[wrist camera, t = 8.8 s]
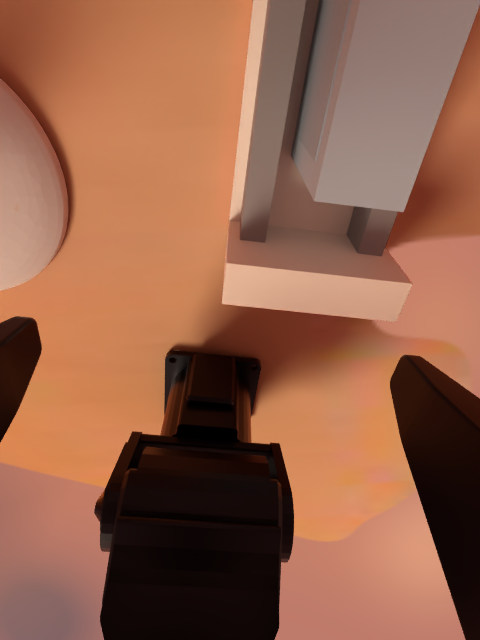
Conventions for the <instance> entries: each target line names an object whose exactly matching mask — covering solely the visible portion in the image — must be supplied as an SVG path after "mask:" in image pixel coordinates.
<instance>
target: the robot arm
mask: <svg viewBox="0 0 480 640" xmlns="http://www.w3.org/2000/svg"><path fill="white" fill-rule="evenodd" d="M41 350H42V346H41V340H40V336H39V331H38V327H37V323H36V321H35V319H33V318H29V317H20V316H16V317H13V318H10V319H8V320H6V321H4V322H2V323H0V442H1V440H2V439H3V437H4V435H5V433H6V431H7V429H8V428H9V426H10V424H11V422H12V420H13V418H14V417H15V415H16V413H17V411H18V409H19V407H20V404H21V402H22V400H23V397H24V395H25V392H26V390H27V387H28V385H29V382H30V380H31V377H32V375H33V372H34V370H35V367H36V365H37V362H38V360H39V357H40V355H41ZM172 357H173V358H175V359H171V358H172ZM252 365H256V366H255V367H252ZM260 370H261V363H260V361H259V360H258V359H254V358H243V357H233V356H222V355H212V354H201V353H191V352H180V351H170V352H168V353H167V355H166V359H165V410H164V421H163V426H162V430H161V435H150V434H142V432H134V431H133V432H132V434H131V436H130V438H129V441H128V442H126V443H125V445H124V447H123V450H122V452H121V454H120V456H119V459H118V461H117V463H116V466H115V468H114V470H113V472H112V475H111V477H110V479H109V481H108V484H107V486H106V488H105V490H104V492H103V493H102V495H101V496H100V498H99V499H98V500H97V502H96V506H95V512H94V513H95V515H96V517H97V518H98V520H99V521H100V531H101V533H100V546H101V550H102V551H104V552H110V555H109V562H108V567H107V574H106V581H105V587H104V594H103V600H102V610H101V615H100V622H101V627H102V632H103V636H104V640H274V639H275V637H276V634H277V632H278V629H279V596H280V574H281V562H288V560H289V558H290V555H291V550H292V544H293V534H294V509H293V498H292V492H291V487H290V483H289V479H288V475H287V472H286V468H285V464H284V460H283V456H282V452H281V448H280V444H279V443H270V444H260V443H251V414H252V410H253V405H254V400H255V395H256V390H257V385H258V380H259V375H260ZM390 389H391V394H392V399H393V404H394V409H395V414H396V419H397V423H398V428H399V433H400V437H401V441H402V445H403V448H404V451H405V454H406V457H407V461H408V464H409V467H410V470H411V473H412V476H413V479H414V482H415V485H416V488H417V491H418V494H419V497H420V501H421V504H422V506H423V510H424V513H425V516H426V519H427V522H428V525H429V528H430V531H431V534H432V537H433V540H434V543H435V546H436V550H437V553H438V556H439V559H440V562H441V565H442V568H443V571H444V574H445V577H446V580H447V583H448V587H449V590H450V592H451V596H452V599H453V602H454V605H455V608H456V611H457V614H458V617H459V620H460V623H461V627H462V630H463V633H464V636H465V639H466V640H480V399H479V398H478V397H476V396H475V395H474V394H473V393H471V392H470V391H468V390H467V389H465V388H464V387H463V386H461V385H460V384H458V383H457V382H456V381H454V380H453V379H451V378H450V377H449V376H447V375H446V374H444V373H443V372H442V371H440V370H439V369H437V368H436V367H435V366H433V365H432V364H430V363H429V362H428V361H426V360H425V359H423V358H422V357H420V356H414V355H403V356H402V357H401V358H400V360H399V362H398V364H397V366H396V369H395V371H394V373H393V375H392V377H391V381H390Z"/></svg>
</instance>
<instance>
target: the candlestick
mask: <svg viewBox="0 0 480 640" xmlns="http://www.w3.org/2000/svg"><path fill="white" fill-rule="evenodd" d="M68 211H69V210H68V194H67V188H66V183H65V179H64V175H63V172H62V168H61V166H60V163H59V160H58V158H57V155H56V153H55V151H54V149H53V147H52V145H51V142H50V141H49V139H48V137H47V135H46V134H45V132H44V130H43V128H42V127H41V125H40V124H39V122H38V121H37V119H36V118H35V116H34V115H33V114H32V112H31V111H30V110H29V108H28V107H27V106H26V105H25V104H24V102H23V101H22V100H21V99H20V98H19V97H18V95H17V94H16V93H15V92H14V91H13V90H12V89H11V88H10V87H9V86H8V85H7V84H6V83H5V82H4V81H3V80H2V79H1V78H0V291H1V290H5V289H9V288H13V287H16V286H18V285H20V284H23V283H25V282H27V281H29V280H30V279H32V278H33V277H35V276H36V275H38V274H39V273H40V272H41V271H42V270H43V269H44V268H45V267H46V266H47V265H48V264H49V263H50V262H51V261H52V259H53V258H54V257H55V255H56V254H57V252H58V250H59V249H60V247H61V244H62V242H63V239H64V237H65V233H66V229H67V223H68Z"/></svg>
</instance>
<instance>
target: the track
mask: <svg viewBox="0 0 480 640" xmlns="http://www.w3.org/2000/svg"><path fill="white" fill-rule="evenodd" d="M318 4H319V0H253V6H252V15H251V24H250V34H249V43H248V52H247V61H246V70H245V79H244V88H243V98H242V107H241V116H240V125H239V134H238V143H237V152H236V162H235V171H234V180H233V189H232V198H231V207H230V216H229V226H228V235H227V244H226V255H225V268H224V281H223V294H222V304H227V305H237V306H246V307H256V308H265V309H275V310H285V311H294V312H304V313H313V314H323V315H333V316H342V317H352V318H361V319H371V320H381V321H391V322H397V320H398V317H399V315H400V313H401V310H402V308H403V306H404V303H405V301H406V299H407V296H408V294H409V292H410V289H411V287H412V285H413V283H412V282H411V281H410V280H409V278H408V277H407V276H406V274H405V273H404V272H403V270H402V269H401V268H400V266H399V265H398V264H397V262H396V261H395V260H394V258H393V257H392V256H391V255H390V253H389V252H388V251H387V249H386V248H385V246H386V244H387V241H388V238H389V235H390V233H391V230H392V227H393V224H394V221H395V219H396V216H397V213H398V211H390V210H381V209H373V208H365V207H357V206H349V205H341V204H333V203H325V202H317V201H314V200H313V198H312V196H311V194H310V192H309V190H308V188H307V186H306V185H305V183H304V181H303V179H302V177H301V175H300V173H299V171H298V169H297V167H296V165H295V163H294V161H293V159H292V157H291V151H292V146H293V140H294V135H295V129H296V124H297V118H298V113H299V107H300V102H301V96H302V91H303V86H304V80H305V75H306V69H307V64H308V58H309V53H310V47H311V42H312V37H313V31H314V26H315V20H316V15H317V9H318Z"/></svg>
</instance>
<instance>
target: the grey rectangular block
mask: <svg viewBox="0 0 480 640" xmlns="http://www.w3.org/2000/svg"><path fill="white" fill-rule="evenodd" d="M479 6H480V0H319V4H318V9H317V15H316V20H315V26H314V31H313V37H312V42H311V47H310V53H309V58H308V64H307V69H306V75H305V80H304V86H303V91H302V96H301V102H300V107H299V113H298V118H297V124H296V129H295V135H294V140H293V146H292V151H291V157H292V159H293V161H294V163H295V165H296V167H297V169H298V171H299V173H300V175H301V177H302V179H303V181H304V183H305V185H306V186H307V188H308V190H309V192H310V194H311V196H312V198H313V200H314V201H317V202H325V203H333V204H341V205H349V206H357V207H365V208H373V209H381V210H390V211H398V212H404V210H405V207H406V204H407V202H408V199H409V196H410V193H411V191H412V188H413V185H414V183H415V180H416V177H417V174H418V172H419V169H420V166H421V164H422V161H423V158H424V155H425V153H426V150H427V147H428V145H429V142H430V139H431V136H432V134H433V131H434V128H435V126H436V123H437V120H438V117H439V115H440V112H441V109H442V107H443V104H444V101H445V98H446V96H447V93H448V90H449V88H450V85H451V82H452V79H453V77H454V74H455V71H456V69H457V66H458V63H459V60H460V58H461V55H462V52H463V49H464V47H465V44H466V41H467V39H468V36H469V33H470V30H471V28H472V25H473V22H474V20H475V17H476V14H477V11H478V9H479Z"/></svg>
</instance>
